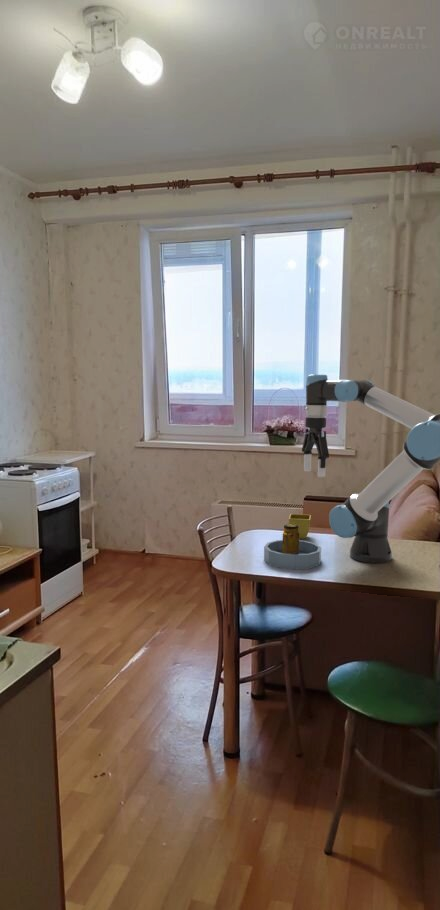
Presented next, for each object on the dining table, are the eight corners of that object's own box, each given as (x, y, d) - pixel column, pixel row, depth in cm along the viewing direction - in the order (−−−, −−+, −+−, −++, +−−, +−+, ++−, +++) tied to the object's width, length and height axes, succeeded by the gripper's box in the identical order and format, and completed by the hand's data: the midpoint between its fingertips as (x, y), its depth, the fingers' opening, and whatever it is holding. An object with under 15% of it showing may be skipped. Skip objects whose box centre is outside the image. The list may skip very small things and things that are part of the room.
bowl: (308, 551, 224) (308, 538, 224) (329, 567, 205) (329, 553, 204) (258, 554, 220) (258, 541, 219) (274, 570, 200) (275, 556, 200)
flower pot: (309, 540, 239) (310, 519, 238) (288, 539, 241) (288, 518, 240) (310, 535, 248) (311, 514, 247) (289, 534, 250) (290, 513, 248)
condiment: (280, 554, 216) (281, 522, 214) (303, 554, 215) (304, 523, 214) (282, 560, 208) (282, 527, 207) (305, 560, 208) (306, 528, 207)
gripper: (294, 415, 225) (293, 469, 228) (319, 418, 201) (317, 479, 204) (312, 415, 227) (311, 468, 229) (339, 418, 203) (337, 479, 205)
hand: (314, 474), depth 217 cm, fingers open, 13 cm apart
